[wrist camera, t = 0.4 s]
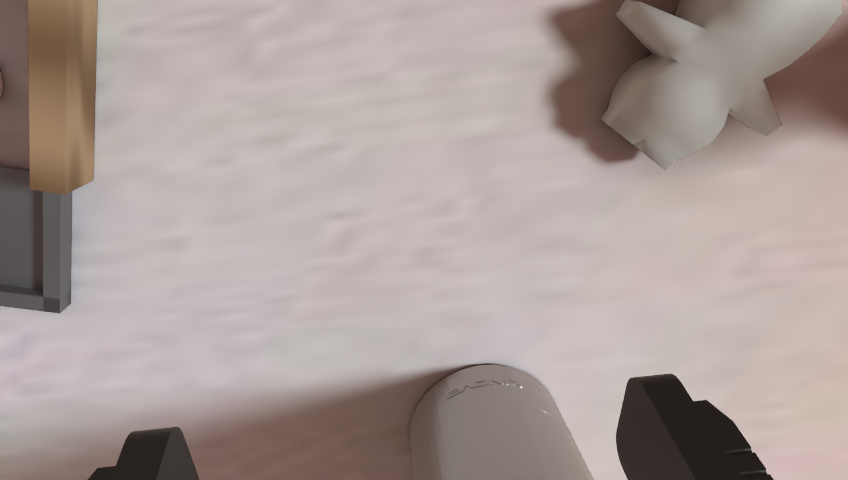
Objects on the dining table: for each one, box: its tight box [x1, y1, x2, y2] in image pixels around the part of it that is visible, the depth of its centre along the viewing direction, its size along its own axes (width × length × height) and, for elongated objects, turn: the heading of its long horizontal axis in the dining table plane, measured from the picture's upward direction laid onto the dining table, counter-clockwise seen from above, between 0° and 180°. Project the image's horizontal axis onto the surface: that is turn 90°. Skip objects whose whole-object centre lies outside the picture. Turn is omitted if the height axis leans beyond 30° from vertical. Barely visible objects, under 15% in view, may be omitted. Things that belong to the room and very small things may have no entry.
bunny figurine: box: [601, 0, 843, 170], centre depth 28 cm, size 10×5×15 cm
